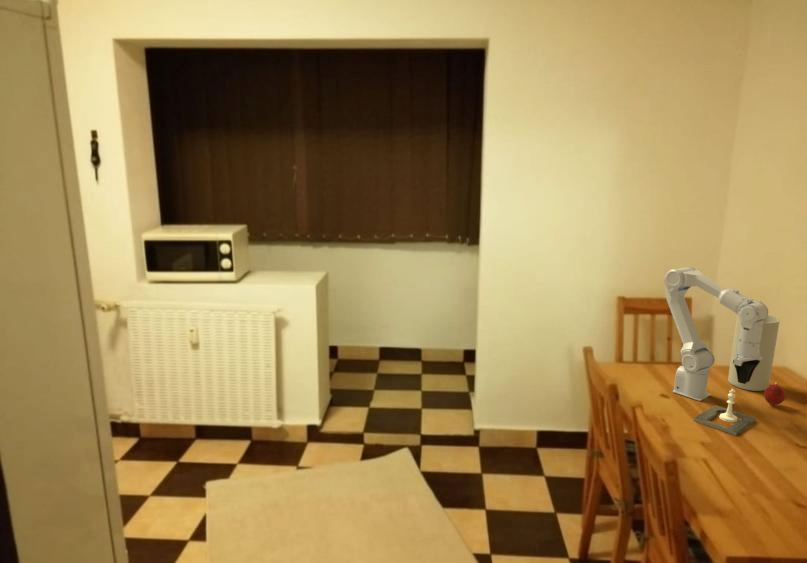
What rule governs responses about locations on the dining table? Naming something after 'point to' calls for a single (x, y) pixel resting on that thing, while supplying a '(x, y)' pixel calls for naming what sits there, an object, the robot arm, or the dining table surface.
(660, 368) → the dining table surface
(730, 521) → the dining table surface
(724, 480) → the dining table surface
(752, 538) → the dining table surface
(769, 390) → the onion
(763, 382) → the cylinder vase
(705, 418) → the keyhole plate
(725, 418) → the chess piece
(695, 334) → the robot arm
